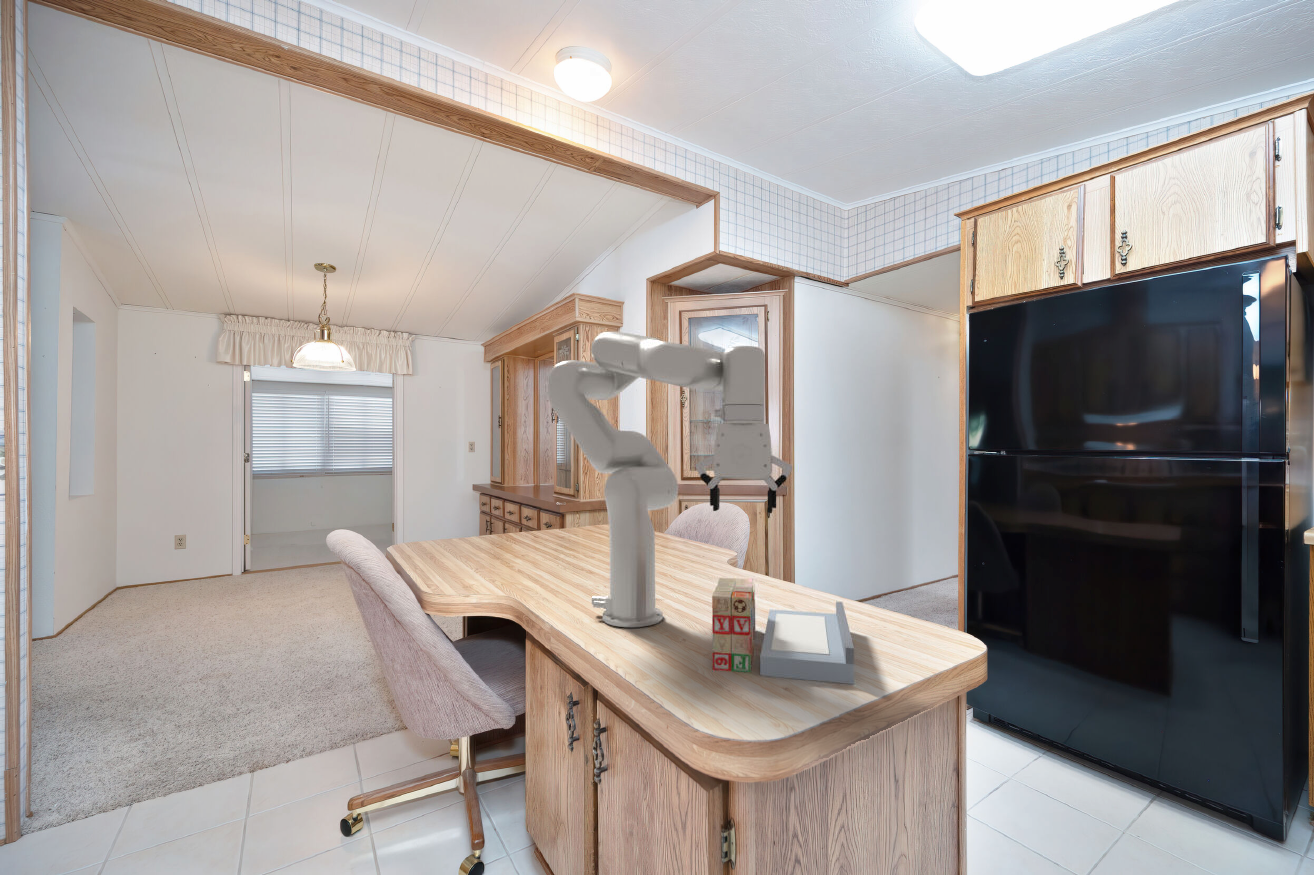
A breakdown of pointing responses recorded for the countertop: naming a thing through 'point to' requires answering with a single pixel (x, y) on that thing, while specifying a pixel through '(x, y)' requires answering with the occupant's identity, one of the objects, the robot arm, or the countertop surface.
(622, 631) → the countertop surface
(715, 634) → the stack of blocks
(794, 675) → the tray
